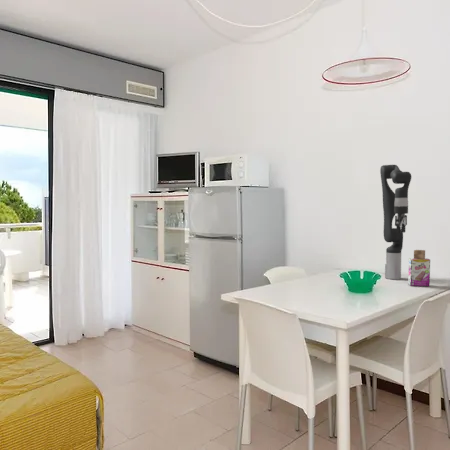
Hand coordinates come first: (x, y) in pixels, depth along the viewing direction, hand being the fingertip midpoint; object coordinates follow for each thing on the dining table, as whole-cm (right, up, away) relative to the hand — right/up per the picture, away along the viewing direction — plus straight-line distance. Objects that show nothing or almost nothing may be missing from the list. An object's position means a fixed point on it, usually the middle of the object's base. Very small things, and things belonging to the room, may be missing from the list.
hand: (400, 232), depth 249 cm
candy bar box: (+12, -32, +3) cm, 35 cm away
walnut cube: (+12, -16, +3) cm, 20 cm away
